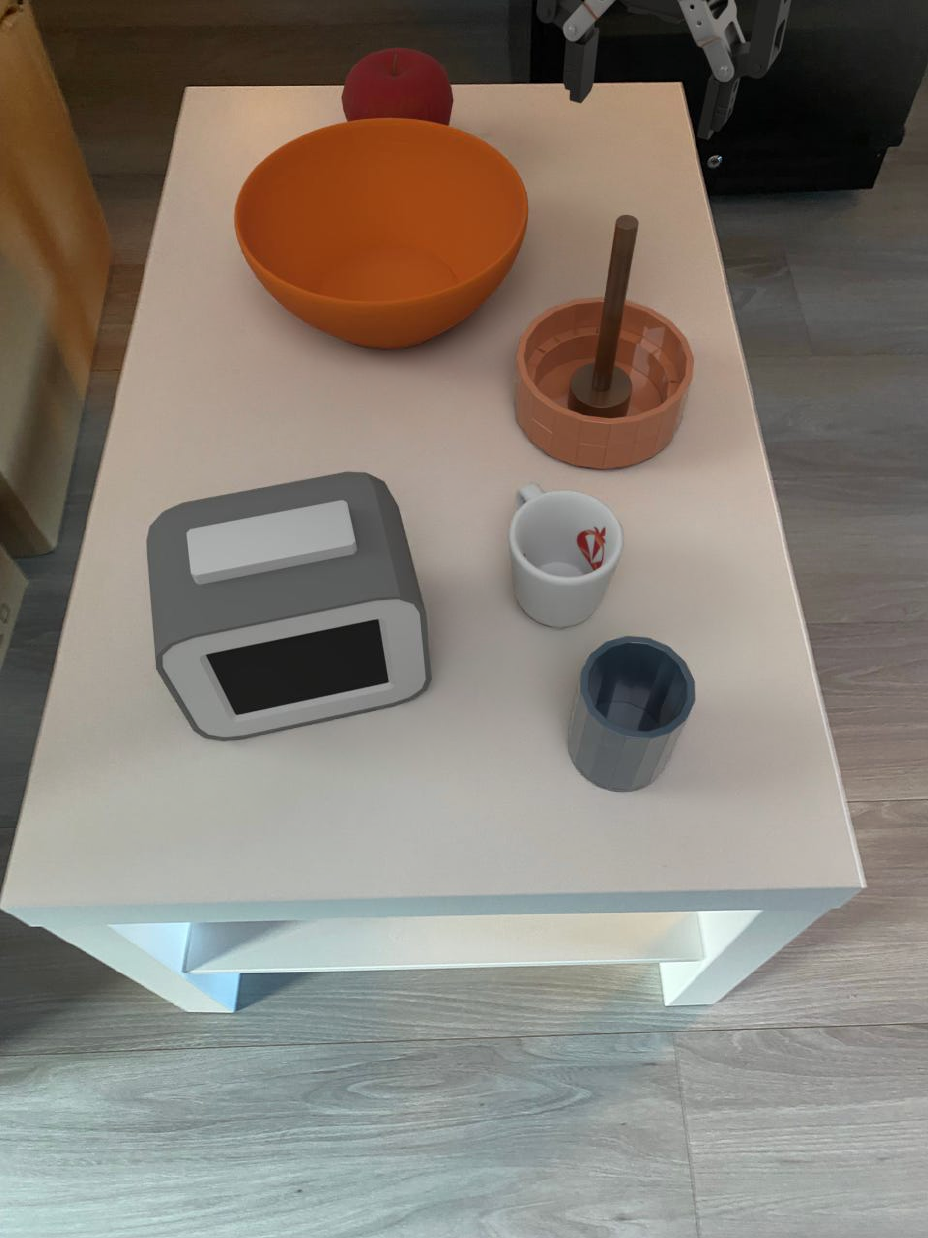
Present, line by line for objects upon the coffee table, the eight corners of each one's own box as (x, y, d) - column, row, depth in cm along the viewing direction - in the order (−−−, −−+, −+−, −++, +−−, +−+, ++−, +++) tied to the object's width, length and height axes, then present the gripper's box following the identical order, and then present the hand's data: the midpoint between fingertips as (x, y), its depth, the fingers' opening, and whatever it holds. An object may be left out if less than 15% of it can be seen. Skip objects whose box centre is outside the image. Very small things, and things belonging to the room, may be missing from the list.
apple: (447, 132, 103) (445, 18, 93) (461, 193, 97) (459, 79, 87) (346, 141, 102) (332, 27, 92) (354, 203, 97) (340, 89, 87)
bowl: (493, 415, 82) (495, 324, 73) (217, 370, 85) (188, 278, 76) (545, 230, 94) (552, 134, 86) (303, 197, 97) (287, 101, 89)
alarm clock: (203, 747, 66) (135, 635, 53) (189, 612, 72) (124, 480, 58) (432, 697, 68) (423, 577, 55) (401, 570, 74) (385, 432, 60)
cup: (473, 546, 75) (473, 480, 68) (564, 513, 76) (573, 446, 69) (532, 656, 70) (539, 598, 63) (628, 619, 71) (645, 558, 64)
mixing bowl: (703, 383, 83) (718, 330, 78) (641, 496, 77) (653, 447, 72) (557, 331, 87) (562, 277, 82) (486, 435, 81) (487, 384, 75)
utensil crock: (684, 725, 67) (711, 664, 59) (646, 810, 63) (669, 757, 56) (592, 683, 68) (607, 619, 61) (551, 764, 65) (561, 707, 57)
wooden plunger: (637, 395, 82) (676, 211, 67) (613, 435, 80) (647, 254, 64) (582, 375, 83) (607, 189, 68) (557, 414, 81) (577, 231, 66)
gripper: (862, -217, 46) (771, 112, 59) (590, -266, 49) (564, 55, 63) (814, -155, 42) (730, 178, 56) (526, -213, 46) (514, 114, 60)
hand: (642, 113), depth 60 cm, fingers open, 8 cm apart
